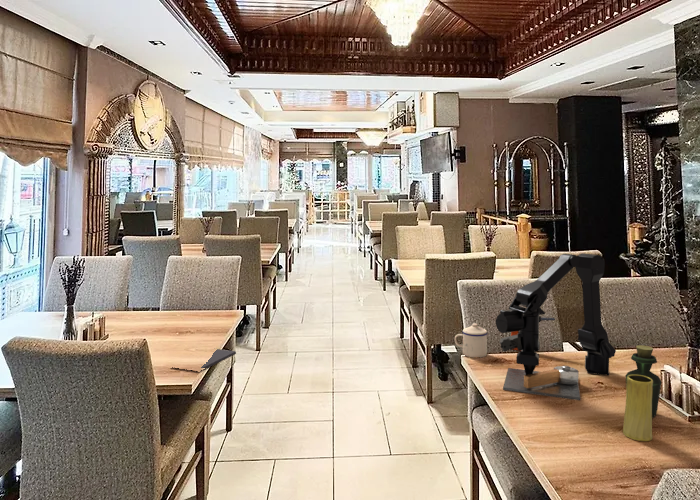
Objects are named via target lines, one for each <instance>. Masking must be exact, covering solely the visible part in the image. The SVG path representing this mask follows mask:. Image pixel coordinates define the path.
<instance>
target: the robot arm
mask: <svg viewBox="0 0 700 500" xmlns="http://www.w3.org/2000/svg"><path fill="white" fill-rule="evenodd" d="M605 266H606V262H605V259H604V257H603V256H601V255H599V254H592V253H586V252H585V253H579V254H578V255H576V254H572V253H571V254H570V253H563V254H560V255H559V257H558V258H557V260H556V261H555V262H554V263H552V265H550V267H548V269H547V270H546V271H545V272H544V273H542V275H540V276H539V277H538V278H537V279H536V280H534V281H532V282H529V283H527V284H525V285H523V286H522V287H520V288H519V289H518V290H517V291H516V293H515V297H514V298H513V300H512V302H511V303H510V305H509V306H508V309H500V311H499V314H497V315H496V319H495V326H496V329H497V331H498V332H500V333H501V334H505V333H511V332H514V331H518V335H512V336H511V335H509V336H505V337H502V338H500V339H499V344H500V348H501V350H502V352H508V351H510V350H513V349H515V348H517V350H516V351H518V350H522V351H518V353H516V360H515V361H516V364H517V365H523V370H525V374H526V375H528V374H532V373H533V371H535V369H536V367H537V366H539V365H540V354H539V353H538V352H539V351H540V347H541V346H540V345H541V343H540V340H539V339H540V338H539V337H540V326H539V325H540V322H539V316H543V315H545V314H546V312H545V311H544V310H543V309H542V308H541V307H542V306H543V304H544V303H545V302H546V300H547V299H548V294H549V292H550V291H551V290H552V289H554V287H555V286H556V285H557V284H558V283H559V282H560V281H561V280H562V279H563V278H564V277H565V276H567V274H568V273H569V272H570V271H572V269H574V268H575V273H576V274H577V276H578V277H579V279H580V281H581V287H582V288H581V289H582V302H583V304H582V305H583V321H584V322H583V325H582V327H581V328H578V329H577V334H578V338H577V341H579V344H580V346H581V348H582V352H583V351H584V352H587V353H586V354H587V355H585V356H584V369H585V371H586V373H587V374H593V375H601V376H609V377H610V375H611V373H610V359H612V358H613V357H615V355H616V351H617V350H616V348H615V347H613V345H612V344H611V343H610V342H609V340H610V339H609V334H608V331H607V330H606V328H605V327H604V325H603V324H602V309H601V291H600V286H601V285H600V281H601V279H602V277H603V276H604V275H605V274H604V273H605Z"/></svg>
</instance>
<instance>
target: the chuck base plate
mask: <svg viewBox="0 0 700 500" xmlns="http://www.w3.org/2000/svg"><path fill="white" fill-rule="evenodd" d="M538 372H540V371H538V370H537V371H536V370H534V371H533V373H538ZM533 373H532V374H533ZM524 375H526V374H525V369H519V368H514V367H512V368H511V367H508V368H507V372H506V375H505V378H504V383H503V388H502V390H503V391H509V392H517V393H522V394H523V393H524V394H531V395H537V396H538V395H539V396H544V397H551V398H552V397H553V398H559V399H567V400H574V401H581V394H580V393H581V391H580V384H579V382H578V383H576V384H563V383H559V382H556V383H551V384H546V385H542V386H537V387H532V388H526V387H524Z"/></svg>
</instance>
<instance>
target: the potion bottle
mask: <svg viewBox="0 0 700 500" xmlns="http://www.w3.org/2000/svg"><path fill="white" fill-rule="evenodd" d="M635 347H636V348H635V349H636V353H633V354H632V355H631V357H630V359H631V361H634V362H635V365H636V369H631V370H630V371H628V372H627V373H626V374H625V386H626V385H627V376H628V375H633V374H635V375H643V376H647V377H649V378H651V379H652V380H653V385H652V419H653V418H655V417H656V416H657V415H658V414H657V412H658V408H659V407H658V406H659V401H660V396H661V395H660V394H661V387H662V380H661V378H660V376H659V375H657V374H656V373H654V372H652V371H651V368H652V366H653V364H657V363H658V360H657V357H656V356H655V355H653V352H654V348H653V347H651V346H648V345H644V344H642V345H636V346H635Z"/></svg>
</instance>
